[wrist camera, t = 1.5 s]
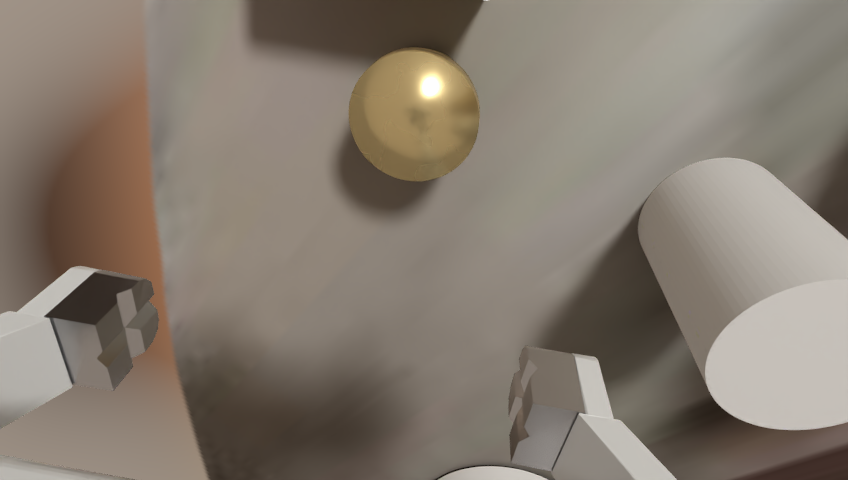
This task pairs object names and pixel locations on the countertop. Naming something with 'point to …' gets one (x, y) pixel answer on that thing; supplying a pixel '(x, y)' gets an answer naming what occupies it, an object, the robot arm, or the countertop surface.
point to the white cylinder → (753, 291)
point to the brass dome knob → (414, 114)
